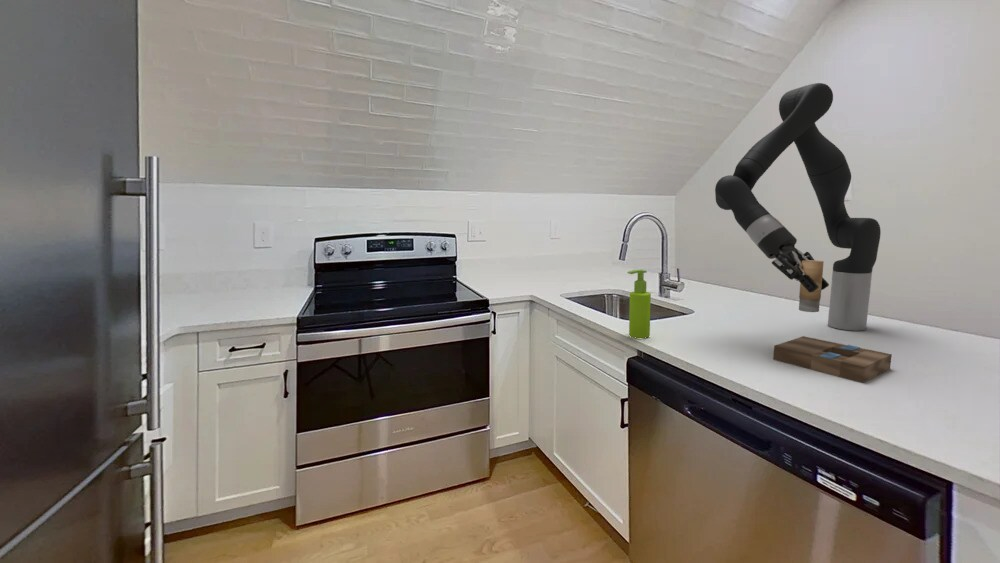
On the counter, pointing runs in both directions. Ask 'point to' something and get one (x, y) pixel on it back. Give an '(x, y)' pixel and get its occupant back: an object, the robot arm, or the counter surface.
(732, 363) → the counter surface
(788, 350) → the board
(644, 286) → the soap dispenser
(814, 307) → the upright wooden block
